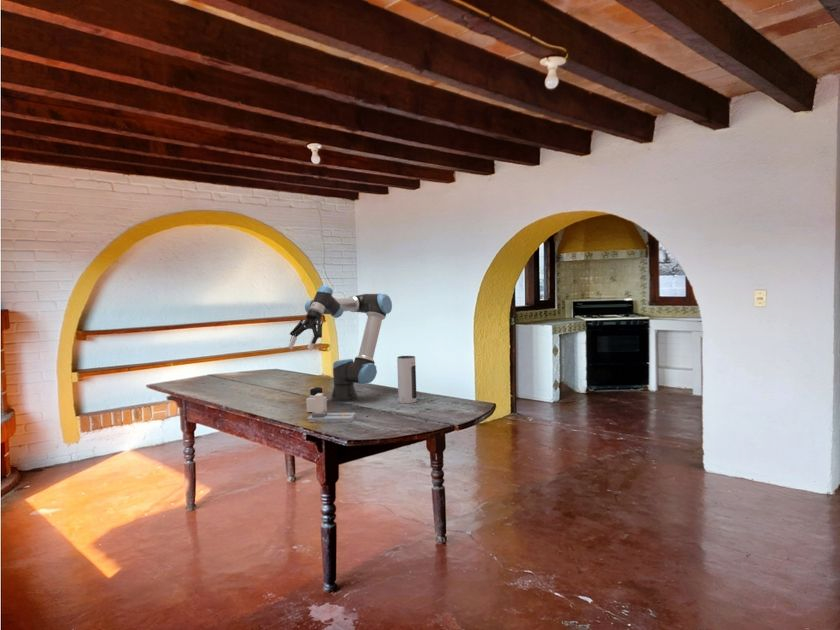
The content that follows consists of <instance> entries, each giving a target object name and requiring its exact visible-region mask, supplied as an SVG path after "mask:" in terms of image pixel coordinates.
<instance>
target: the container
mask: <svg viewBox="0 0 840 630" xmlns="http://www.w3.org/2000/svg"><path fill="white" fill-rule="evenodd" d="M317 393H323V388H322V387H320V386H316V387H315V386H314V387H313V386H312V387H311V388H310V389H309V397H307V398H306V401H305V403H306V413H307V412H315V395H316V394H317ZM327 400H328V399H327V396H324V410H327V411H328V406H327V405H328V404H327V403H328V401H327Z"/></svg>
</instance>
